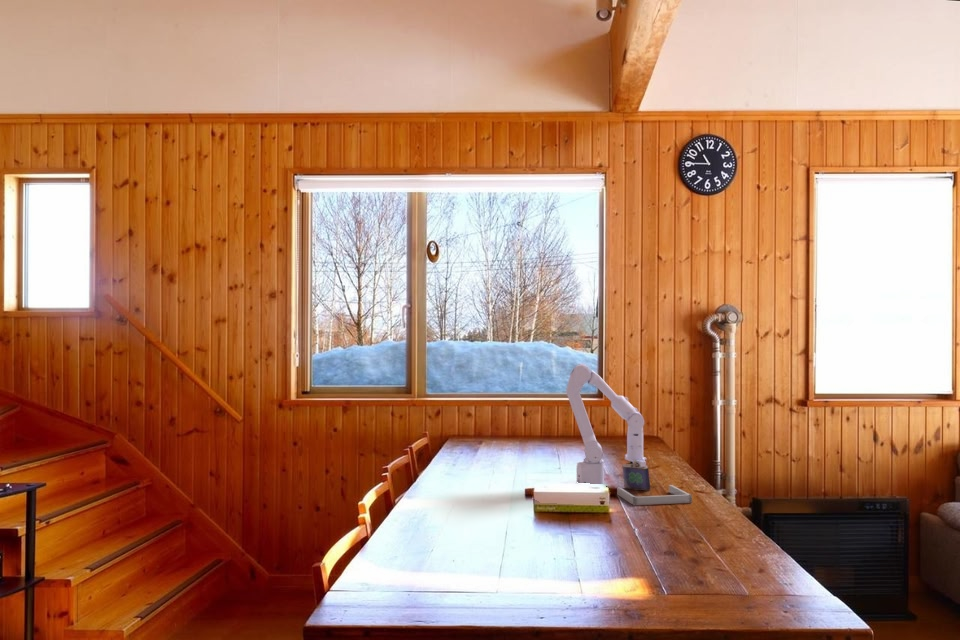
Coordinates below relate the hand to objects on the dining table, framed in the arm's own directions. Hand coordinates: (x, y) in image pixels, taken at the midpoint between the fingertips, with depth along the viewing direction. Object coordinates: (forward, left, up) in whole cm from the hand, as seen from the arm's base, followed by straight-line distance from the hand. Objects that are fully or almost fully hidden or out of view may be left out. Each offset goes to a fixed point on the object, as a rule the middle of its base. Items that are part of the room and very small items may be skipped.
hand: (635, 483), depth 263 cm
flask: (0, -2, -1) cm, 2 cm away
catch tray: (0, -16, -1) cm, 16 cm away
